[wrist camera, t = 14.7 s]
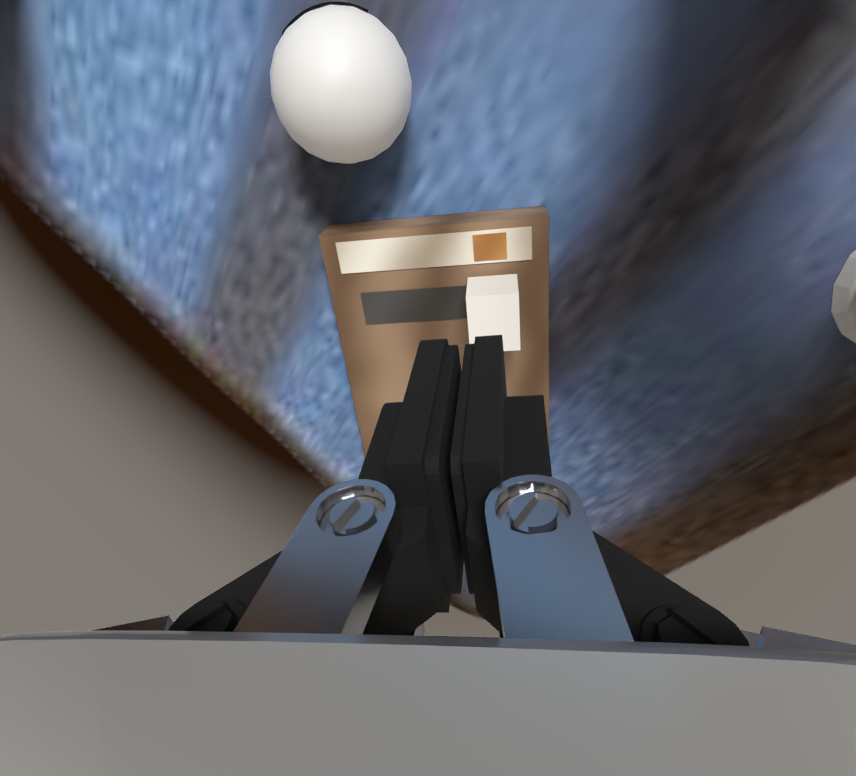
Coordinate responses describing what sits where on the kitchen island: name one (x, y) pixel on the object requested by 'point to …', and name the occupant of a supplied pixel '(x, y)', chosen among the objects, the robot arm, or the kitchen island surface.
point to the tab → (494, 309)
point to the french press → (846, 299)
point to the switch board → (433, 296)
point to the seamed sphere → (340, 83)
